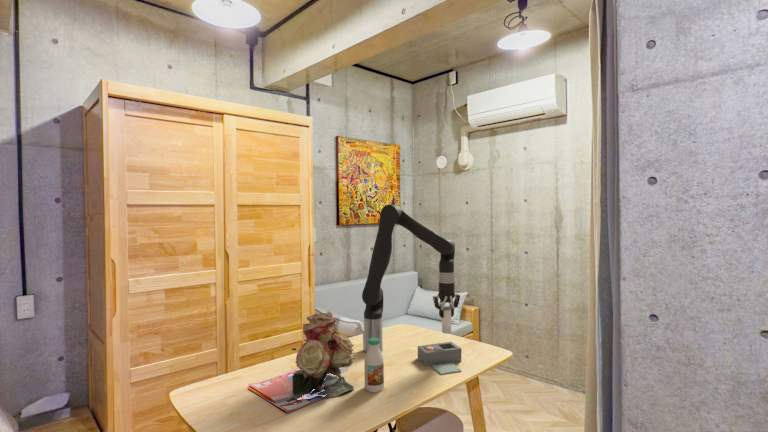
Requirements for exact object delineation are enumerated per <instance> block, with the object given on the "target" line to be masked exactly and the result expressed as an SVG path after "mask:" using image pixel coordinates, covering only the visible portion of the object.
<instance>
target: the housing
mask: <svg viewBox="0 0 768 432" xmlns="http://www.w3.org/2000/svg"><path fill="white" fill-rule="evenodd" d="M428 346H431V347H434V350H430V351H427V350H425V348H426V347H428ZM417 360H419V361H420V362H421V363H422V364H423V365H425V367H432V366H433V365H440V364H446V363H457V362H462V347H460V346H459V345H457V344H455V343H454V342H452V341H447V342H439V343H432V344H431V343H430V344H425V345H424V344H423V345H418V346H417Z"/></svg>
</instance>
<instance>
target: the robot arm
mask: <svg viewBox="0 0 768 432" xmlns="http://www.w3.org/2000/svg"><path fill="white" fill-rule="evenodd" d="M395 224H396V225H398V226H401V227H402V228H405V229H406V230H407V231H409V232H410V234H412V235H413V236H415V237H416V238H417V239H419V240H420V241H422V242H424V243H425V244H427V245H429V246H430V247H432V249H434V250H436V251H437V252H438V253H440V260H439V263H438V294H437V295H433V296H432V300H433V303H434V308H435V309H437V310H438V313H439V314H438V316H439V317H440V318H441V319H442V318H443V308H444V306H446V304H447V303H448V306H451V318H452V317H453V318H454V316H455V309H456V308H458V306H459V303H460V299H461V295H460V294H458V293H455V291H456V290H455V280H456V279H455V278H456V277H455V264H454V263H455V255H456V253H455V252H456V248H455V247H456V246H455V242H454V241H453V240H452V239H449V238H444V237H443V236H441V235H439V234H438V233H437V232H436V231H435V230H433V229H432V228H431V227H429V226H427V225H425V224H423V223H421V222H419V221H418V220H417V219H414V218H413V217H412V216H410V215H409V214H408V213H406V211H404V210H403V209H401V208H400V207H399V206H398V205H396V204H393V203H391V204H389V203H388V204H386V205H384V206H383V207H382V208H381V211H380V214H379V223H378V230H377V234H376V236H375V240H374V241H375V242H374V245H373V249H372V253H371V258H370V262H369V263H370V264H369V269H368V272H367V273H368V274H367V278H366V281H365V285H364V286H363V287H364V288H363V290H362V293H361V298H362V302H363V303H364V304H365V308H364V311H363V328H364V329H363V332H362V348H363V349H362V350H363V352H365V355H366V354H367V351H368V348H369V345H368V339H370V338H378V339H379V340H380V343H379V344H380V345H379V349H380V351H381V353H382V352H383V350H384V347H383V312H384V290H383V288H382V287H381V286H382V285H381V284H382V281H383V278H384V276H385V273H386V271H387V269H388V266H389V264H390V260H391V255H392V250H393V231H394V227H395V226H396V225H395Z"/></svg>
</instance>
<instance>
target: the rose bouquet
mask: <svg viewBox="0 0 768 432" xmlns="http://www.w3.org/2000/svg"><path fill="white" fill-rule="evenodd" d="M305 319H306V320H307V321H308V322H309V323H302V330H303V331H302V332H303V334H304V336H305V339H303V341H304V343H303V344H302V345H301V347H300V349H299V350H298V351H297V348H296V347H292V348H291V350H292V351H297V353H296V356H295V360H296V361H295V364H296V367H297V368H299V369H300V370H301V371H300V372H294V373H293V372H292V374H293V375H292V383H293V384H292V395H293V398H294V399H295V398H300V397H302V395H304V394H308V393H310V392H311V391H312V390H313V389H319V386H320V387H323V388H322V389H324V390H325V391H323V392H320V393H318V395H326V394H327V395H326V396H325V397H323V399H330V398H336V397H338V396H340V395H342V394H344V393H346V392H349V391H354V389H355V387H354V386H353V385H352V384H350V383H349V382H347V381H346V379H345V376H342V375H341V374H342V373H341V369H340V368H349V367H350V366H351V365H352V364H353V363H354V361H355V359H356V357H355V356H354V354H355V352H354V351H355V349H354V348H353V347H354V344H353V342H352V341H351V339H350V338H348V337H347V336H345V335H343V334H337V333H335V332H336V329H337V328H336V322H337V318H335V317H333V313H332V312H330V311H327V312H326V313H325V312H323V313H314V314H312V315H310V316H309V315H308V316H307V317H306V318H305ZM329 373H331V374H333V375H336V376H332V377H328V378H326V379H325V377H326V376H327V374H329ZM324 379H325V380H324ZM319 390H320V389H319Z"/></svg>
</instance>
